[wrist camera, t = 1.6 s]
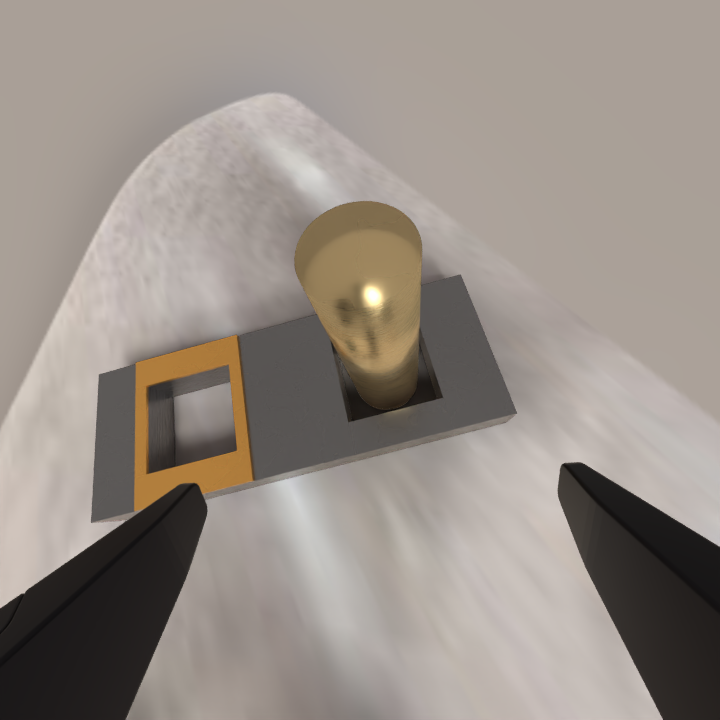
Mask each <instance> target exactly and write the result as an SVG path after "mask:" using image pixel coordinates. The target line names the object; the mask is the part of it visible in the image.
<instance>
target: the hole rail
mask: <svg viewBox="0 0 720 720" xmlns="http://www.w3.org/2000/svg"><path fill="white" fill-rule="evenodd" d="M419 344H420V347H421V351H422V354H423V357H424V360H425V363H426V366H427V369H428V372H429V375H430V378H431V381H432V384H433V388H434V391H435V394H436V397H437V399H436V400H433V401H429V402H425V403H421V404H417V405H413V406H410V407H406V408H402V409H398V410H394V411H391V412H387V413H383V414H379V415H375V416H371V417H368V418H364V419H360V420H356V421H353V419H352V414H351V410H350V405H349V401H348V397H347V392H346V388H345V383H344V379H343V374H342V370H341V365H340V361H339V357H338V353H337V351H336V349H335V347H334V345H333V344H332V342H331V340H330V338H329V336H328V334H327V332H326V330H325V328H324V326H323V325H322V323H321V321H320V319H319V317H318V315H317V314H316V315H312V316H309V317H305V318H302V319H298V320H294V321H291V322H287V323H284V324H280V325H276V326H273V327H269V328H265V329H262V330H258V331H255V332H251V333H247V334H244V335H240V336H238V335H234V336H230V337H227V338H223V339H219V340H216V341H212V342H209V343H205V344H201V345H198V346H194V347H191V348H187V349H183V350H180V351H176V352H173V353H169V354H165V355H162V356H158V357H154V358H151V359H147V360H144V361H140V362H136V364H135V365H132V366H128V367H124V368H121V369H117V370H114V371H110V372H106V373H103V374H99V384H98V403H97V422H96V441H95V460H94V479H93V498H92V517H91V523H95V522H108V521H121V520H128V519H130V518H132V517H133V516H134V515H136V514H137V513H139V512H140V511H142V510H143V509H145V508H146V507H147V506H149V505H150V504H152V503H153V502H155V501H156V500H158V499H159V498H160V497H162V496H163V495H165V494H166V493H168V492H169V491H171V490H172V489H173V488H175V487H176V486H178V485H179V484H182V483H197V484H198V485H199V487H200V489H201V492H202V494H203V497H204V499H205V500H206V499H210V498H213V497H217V496H221V495H225V494H229V493H233V492H237V491H241V490H245V489H249V488H252V487H256V486H260V485H264V484H268V483H272V482H276V481H280V480H284V479H288V478H292V477H295V476H299V475H303V474H307V473H311V472H315V471H319V470H323V469H327V468H331V467H334V466H338V465H342V464H346V463H350V462H354V461H358V460H362V459H366V458H370V457H373V456H377V455H381V454H385V453H389V452H393V451H397V450H401V449H405V448H409V447H413V446H416V445H420V444H424V443H428V442H432V441H436V440H440V439H444V438H448V437H452V436H455V435H459V434H463V433H467V432H471V431H475V430H479V429H483V428H487V427H491V426H495V425H498V424H502V423H506V422H507V421H508V420H510V419H511V418H512V417H513V416H515V415H516V414H517V412H516V409H515V407H514V404H513V402H512V400H511V397H510V395H509V392H508V390H507V387H506V385H505V382H504V380H503V377H502V375H501V372H500V370H499V368H498V365H497V363H496V360H495V358H494V355H493V353H492V350H491V348H490V345H489V343H488V341H487V338H486V336H485V333H484V331H483V328H482V326H481V323H480V321H479V318H478V316H477V313H476V311H475V309H474V306H473V304H472V301H471V299H470V296H469V294H468V291H467V289H466V286H465V284H464V282H463V279H462V277H461V275H457V276H454V277H450V278H446V279H443V280H439V281H436V282H432V283H428V284H425V285H421V298H420V329H419ZM227 382H231V393H232V403H233V413H234V424H235V434H236V444H237V451H234V452H230V453H227V454H223V455H219V456H215V457H211V458H207V459H204V460H200V461H196V462H192V463H188V464H184V465H181V466H177V467H175V447H174V414H173V397H175V396H179V395H183V394H186V393H190V392H194V391H197V390H201V389H205V388H209V387H212V386H216V385H220V384H223V383H227Z"/></svg>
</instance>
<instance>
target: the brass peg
mask: <svg viewBox="0 0 720 720" xmlns="http://www.w3.org/2000/svg"><path fill="white" fill-rule="evenodd" d="M294 260H295V270H296V274H297V277H298V279H299V281H300V283H301V285H302V287H303V289H304V290H305V292H306V294H307V296H308V298H309V300H310V302H311V304H312V306H313V308H314V309H315V311H316V313H317V315H318V317H319V319H320V321H321V323H322V325H323V326H324V328H325V330H326V332H327V334H328V336H329V338H330V340H331V342H332V344H333V345H334V347H335V349H336V351H337V353H338V355H339V357H340V359H341V361H342V362H343V364H344V366H345V368H346V370H347V372H348V374H349V376H350V378H351V380H352V381H353V383H354V385H355V387H356V389H357V391H358V393H359V395H360V396H361V398H362V399H363V400H364V401H365V402H366V403H367V404H369V405H371V406H372V407H375V408H378V409H383V410H389V409H395V408H398V407H400V406H402V405H404V404H405V403H407V402H408V401H409V400H410V399H411V397H412V396H413V395H414V393H415V391H416V388H417V384H418V360H419V329H420V298H421V267H422V243H421V238H420V235H419V232H418V230H417V228H416V226H415V225H414V223H413V222H412V221H411V220H410V219H409V218H408V217H407V216H406V215H405V214H404V213H402V212H401V211H400V210H398V209H396V208H394V207H392V206H389V205H387V204H383V203H379V202H372V201H360V202H352V203H347V204H343V205H340V206H337V207H335V208H332V209H330V210H328V211H326V212H325V213H323V214H322V215H320V216H319V217H318V218H316V219H315V220H314V221H313V222H312V223H311V224H310V225H309V226H308V227H307V228H306V230H305V231H304V232H303V234H302V236H301V238H300V240H299V242H298V244H297V247H296V251H295V258H294Z"/></svg>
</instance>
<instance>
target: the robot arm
mask: <svg viewBox="0 0 720 720" xmlns="http://www.w3.org/2000/svg"><path fill="white" fill-rule="evenodd" d="M558 497H559V501H560V503H561V506H562V509H563V511H564V514H565V516H566V519H567V522H568V524H569V527H570V529H571V532H572V534H573V537H574V540H575V542H576V545H577V547H578V550H579V553H580V555H581V558H582V560H583V562H584V565H585V567H586V569H587V571H588V573H589V575H590V577H591V579H592V581H593V583H594V585H595V587H596V589H597V591H598V593H599V595H600V597H601V599H602V601H603V603H604V605H605V607H606V609H607V611H608V613H609V615H610V617H611V619H612V621H613V622H614V624H615V626H616V628H617V630H618V632H619V634H620V636H621V638H622V640H623V642H624V644H625V646H626V648H627V650H628V652H629V654H630V656H631V658H632V660H633V662H634V664H635V666H636V668H637V669H638V671H639V673H640V675H641V677H642V679H643V681H644V683H645V685H646V687H647V689H648V691H649V693H650V695H651V697H652V699H653V701H654V703H655V705H656V707H657V709H658V711H659V713H660V715H661V716H662V718H663V720H720V547H719V546H717V545H716V544H714V543H713V542H711V541H709V540H708V539H706V538H704V537H703V536H701V535H700V534H698V533H696V532H695V531H693V530H691V529H690V528H688V527H686V526H685V525H683V524H682V523H680V522H678V521H677V520H675V519H673V518H672V517H670V516H668V515H667V514H665V513H664V512H662V511H660V510H659V509H657V508H655V507H654V506H652V505H650V504H649V503H647V502H646V501H644V500H642V499H641V498H639V497H637V496H636V495H634V494H632V493H631V492H629V491H628V490H626V489H624V488H623V487H621V486H619V485H618V484H616V483H614V482H613V481H611V480H610V479H608V478H606V477H605V476H603V475H601V474H600V473H598V472H597V471H595V470H593V469H592V468H590V467H588V466H587V465H585V464H583V463H580V462H574V463H564V464H562V465H561V468H560V475H559V483H558ZM206 516H207V504H206V502H205V499H204V497H203V494H202V492H201V489H200V487H199V485H198V484H197V483H182V484H179V485H178V486H176V487H175V488H173V489H172V490H171V491H169V492H168V493H166V494H165V495H163V496H162V497H160V498H159V499H158V500H156V501H155V502H153V503H152V504H150V505H149V506H147V507H146V508H145V509H143V510H142V511H140V512H139V513H137V514H136V515H134V516H133V517H132V518H130V519H129V520H127V521H126V522H124V523H123V524H122V525H120V526H119V527H117V528H116V529H114V530H113V531H111V532H110V533H109V534H107V535H106V536H104V537H103V538H101V539H100V540H98V541H97V542H96V543H94V544H93V545H91V546H90V547H88V548H87V549H85V550H84V551H83V552H81V553H80V554H78V555H77V556H75V557H74V558H73V559H71V560H70V561H68V562H67V563H65V564H64V565H62V566H61V567H60V568H58V569H57V570H55V571H54V572H52V573H51V574H49V575H48V576H47V577H45V578H44V579H42V580H41V581H39V582H38V583H36V584H35V585H34V586H32V587H31V588H29V589H28V590H27V591H26V592H25V594H20V595H19V596H18V597H16V598H15V599H13V600H12V601H10V602H9V603H8V604H6V605H5V606H3V607H2V608H0V720H126V717H127V715H128V713H129V710H130V708H131V706H132V703H133V701H134V699H135V696H136V694H137V692H138V689H139V687H140V685H141V682H142V680H143V678H144V675H145V673H146V671H147V668H148V666H149V664H150V661H151V659H152V657H153V654H154V652H155V650H156V647H157V645H158V643H159V640H160V638H161V636H162V633H163V631H164V629H165V626H166V624H167V622H168V619H169V617H170V615H171V612H172V610H173V608H174V605H175V603H176V601H177V598H178V596H179V594H180V591H181V589H182V587H183V584H184V582H185V579H186V577H187V574H188V571H189V569H190V566H191V563H192V560H193V557H194V554H195V551H196V547H197V544H198V541H199V538H200V535H201V532H202V529H203V526H204V523H205V520H206Z"/></svg>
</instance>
